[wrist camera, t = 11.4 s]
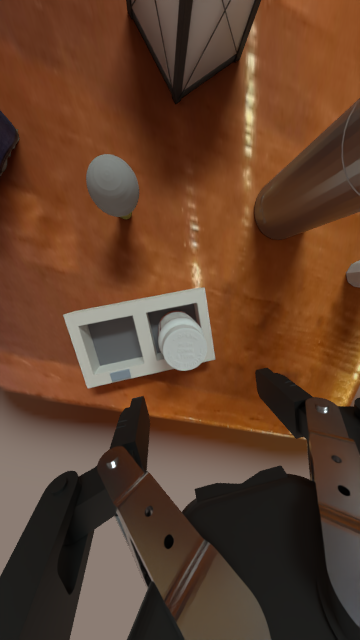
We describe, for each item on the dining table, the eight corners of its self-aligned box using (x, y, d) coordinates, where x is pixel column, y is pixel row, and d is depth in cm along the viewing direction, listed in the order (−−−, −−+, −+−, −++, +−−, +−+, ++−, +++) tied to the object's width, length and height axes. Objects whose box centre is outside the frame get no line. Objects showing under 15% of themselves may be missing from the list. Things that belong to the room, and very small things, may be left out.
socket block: (199, 287, 30) (205, 287, 27) (209, 351, 33) (215, 360, 29) (74, 311, 29) (62, 315, 25) (95, 376, 31) (86, 389, 27)
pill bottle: (185, 348, 32) (200, 382, 21) (153, 337, 31) (150, 367, 20) (198, 316, 31) (220, 334, 20) (165, 304, 30) (169, 316, 19)
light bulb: (139, 237, 28) (129, 211, 18) (103, 226, 27) (72, 192, 17) (147, 200, 27) (141, 152, 17) (111, 187, 26) (82, 129, 16)
